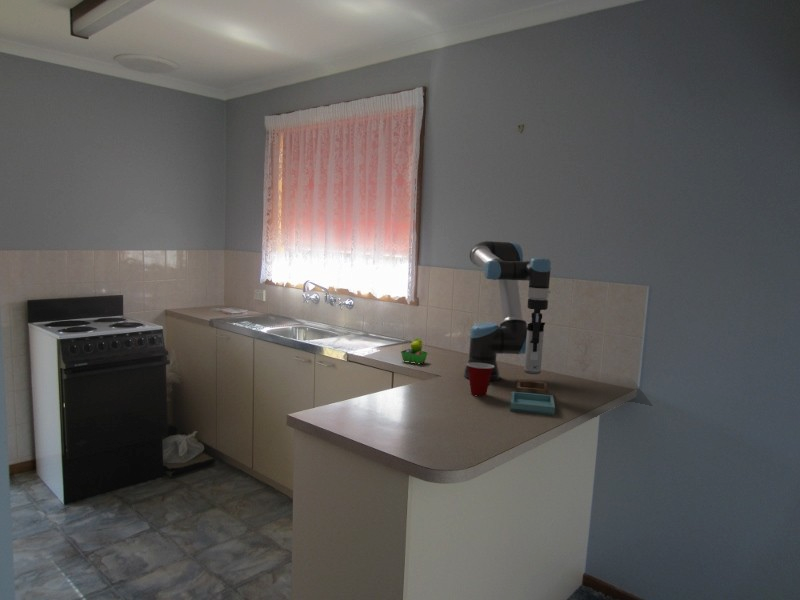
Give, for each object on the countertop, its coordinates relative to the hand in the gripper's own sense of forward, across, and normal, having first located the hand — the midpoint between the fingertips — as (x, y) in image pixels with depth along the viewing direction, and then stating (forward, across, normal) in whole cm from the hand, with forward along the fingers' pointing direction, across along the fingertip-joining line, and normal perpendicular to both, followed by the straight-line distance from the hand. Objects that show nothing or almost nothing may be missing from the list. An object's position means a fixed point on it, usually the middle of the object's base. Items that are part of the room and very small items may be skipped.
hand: (533, 357), depth 219 cm
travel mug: (+6, 0, 0) cm, 6 cm away
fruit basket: (+16, +38, +54) cm, 68 cm away
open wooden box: (+15, 0, 0) cm, 15 cm away
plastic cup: (+15, -6, +20) cm, 26 cm away
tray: (+15, -16, 0) cm, 22 cm away
